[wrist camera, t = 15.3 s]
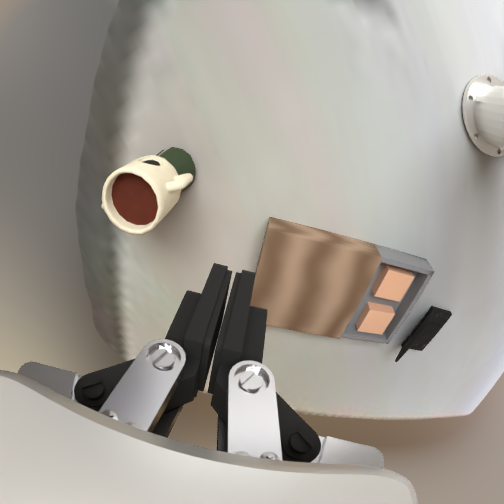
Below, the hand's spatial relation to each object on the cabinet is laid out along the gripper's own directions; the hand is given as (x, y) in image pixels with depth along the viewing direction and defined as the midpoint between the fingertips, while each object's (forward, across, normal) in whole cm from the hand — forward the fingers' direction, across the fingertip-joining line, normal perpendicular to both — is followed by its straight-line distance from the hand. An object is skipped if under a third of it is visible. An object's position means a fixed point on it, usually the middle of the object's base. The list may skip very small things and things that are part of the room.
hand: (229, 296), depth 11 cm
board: (+27, -10, +16) cm, 33 cm away
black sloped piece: (+28, -36, +22) cm, 50 cm away
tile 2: (+24, -23, +13) cm, 36 cm away
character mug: (+27, +12, +4) cm, 30 cm away
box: (+27, -23, +16) cm, 39 cm away
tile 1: (+24, -24, +20) cm, 39 cm away
